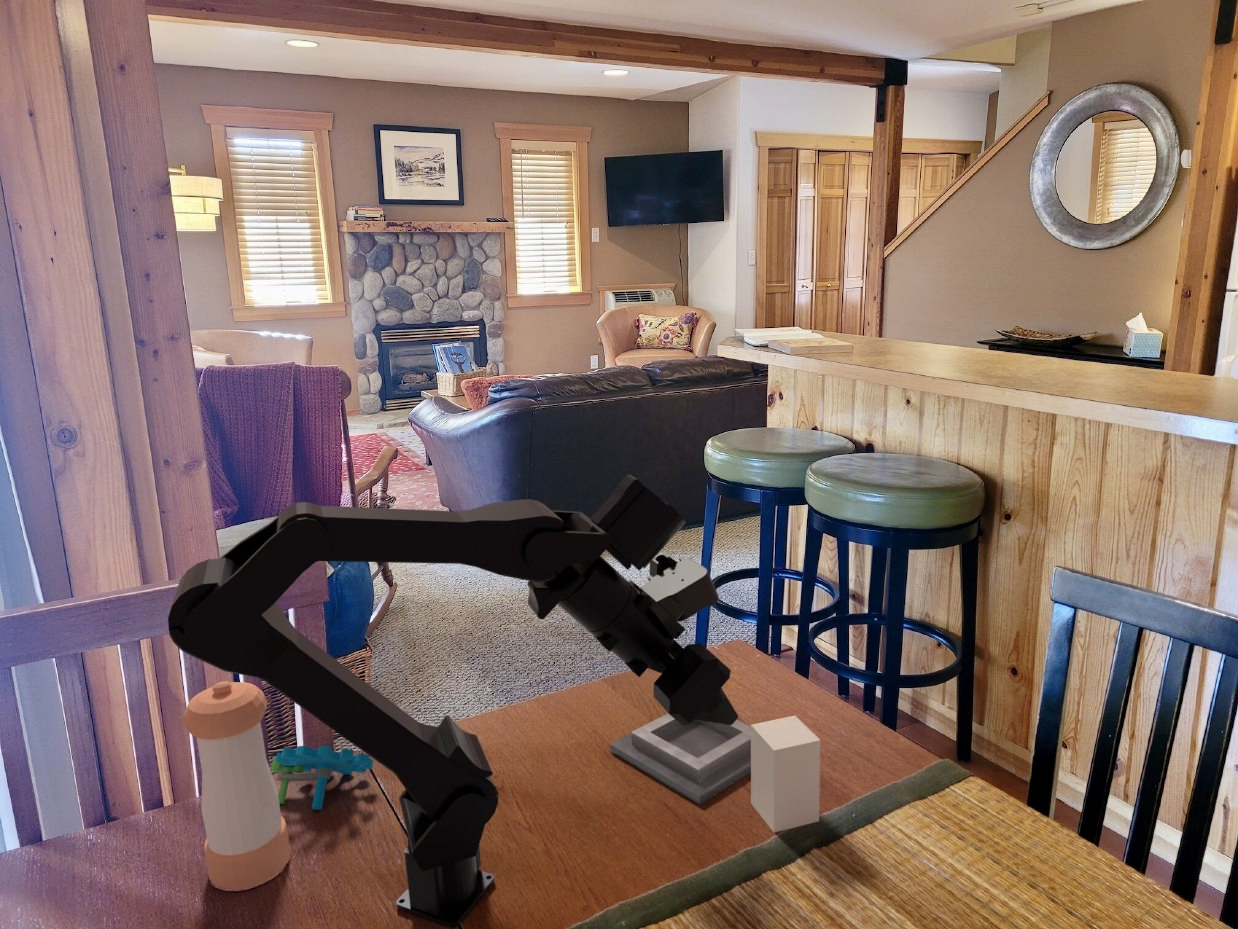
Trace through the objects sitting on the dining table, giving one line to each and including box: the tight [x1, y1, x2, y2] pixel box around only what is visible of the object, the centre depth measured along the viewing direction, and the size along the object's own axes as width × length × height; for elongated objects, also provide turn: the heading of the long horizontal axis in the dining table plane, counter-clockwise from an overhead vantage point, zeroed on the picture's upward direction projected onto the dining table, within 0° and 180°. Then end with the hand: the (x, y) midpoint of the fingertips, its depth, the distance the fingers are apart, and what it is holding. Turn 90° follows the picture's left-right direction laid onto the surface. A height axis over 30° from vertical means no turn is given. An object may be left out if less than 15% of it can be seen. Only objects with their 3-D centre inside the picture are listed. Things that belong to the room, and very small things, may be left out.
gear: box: [270, 745, 374, 811], centre depth 92 cm, size 11×6×10 cm
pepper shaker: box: [182, 680, 292, 889], centre depth 80 cm, size 7×7×19 cm
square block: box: [750, 715, 821, 833], centre depth 86 cm, size 5×5×9 cm
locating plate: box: [609, 712, 751, 806], centre depth 98 cm, size 14×14×2 cm
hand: (711, 698), depth 84 cm, fingers open, 9 cm apart
